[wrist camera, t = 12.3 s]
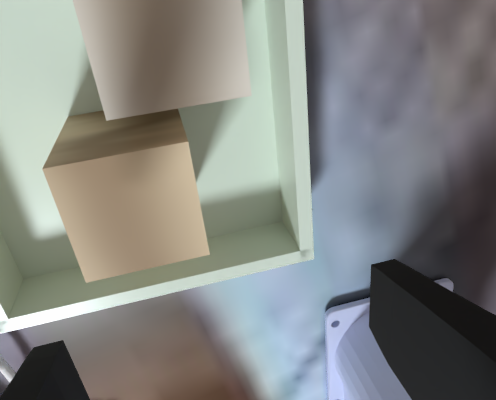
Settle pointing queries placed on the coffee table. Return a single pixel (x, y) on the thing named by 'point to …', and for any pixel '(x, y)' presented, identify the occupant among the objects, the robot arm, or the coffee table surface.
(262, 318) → the coffee table surface
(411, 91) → the coffee table surface
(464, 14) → the coffee table surface
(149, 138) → the part oak
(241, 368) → the coffee table surface
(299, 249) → the tray
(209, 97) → the part birch
